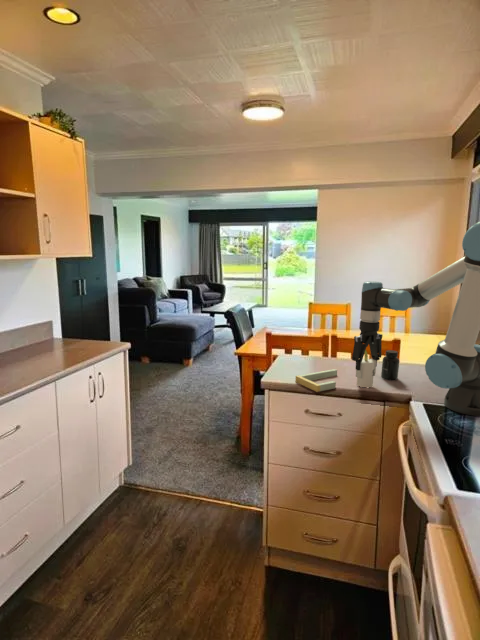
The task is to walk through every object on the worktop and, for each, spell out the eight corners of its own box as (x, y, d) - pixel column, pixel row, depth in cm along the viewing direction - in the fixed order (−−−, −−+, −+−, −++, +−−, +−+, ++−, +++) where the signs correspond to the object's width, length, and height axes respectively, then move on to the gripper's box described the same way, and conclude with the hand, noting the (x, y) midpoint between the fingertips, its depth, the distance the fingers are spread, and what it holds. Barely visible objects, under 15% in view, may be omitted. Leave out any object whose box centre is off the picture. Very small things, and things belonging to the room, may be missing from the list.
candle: (369, 389, 161) (372, 352, 159) (354, 385, 165) (356, 350, 163) (375, 385, 166) (378, 349, 164) (359, 381, 170) (362, 347, 168)
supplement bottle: (379, 379, 175) (382, 352, 172) (382, 374, 180) (384, 348, 178) (396, 381, 171) (399, 354, 169) (398, 377, 177) (401, 350, 175)
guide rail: (357, 383, 168) (357, 377, 168) (316, 391, 157) (317, 385, 157) (334, 374, 180) (334, 369, 179) (295, 381, 169) (295, 375, 169)
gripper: (379, 317, 169) (375, 370, 173) (344, 320, 159) (340, 377, 163) (394, 320, 163) (389, 375, 167) (358, 324, 153) (354, 382, 157)
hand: (365, 376), depth 165 cm, fingers open, 7 cm apart
